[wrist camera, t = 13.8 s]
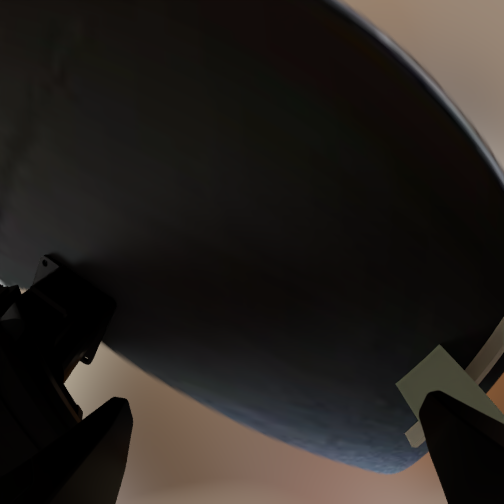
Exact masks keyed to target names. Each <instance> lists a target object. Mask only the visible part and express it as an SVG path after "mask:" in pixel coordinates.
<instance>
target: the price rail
mask: <svg viewBox="0 0 504 504" xmlns="http://www.w3.org/2000/svg"><path fill="white" fill-rule="evenodd" d="M503 352H504V317H503V319H502V320H501V322H500V323H499V325H498V326H497V328H496V329H495V331H494V332H493V333H492V335H491V336H490V338H489V339H488V340H487V342H486V343H485V345H484V346H483V347H482V349H481V350H480V351H479V353H478V354H477V355H476V357H475V358H474V359H473V360H472V362H471V363H470V364H469V365H468V367H467V368H466V369H465V370H464V371H465V372H466V373H467V374H468V375H469V376H470V377H471V378H472V379H473V381H474V382H475V383H476V384H477V385H479V383H480V382H481V381H482V380H483V378H484V377H485V376H486V375H487V374H488V372H489V371H490V370H491V368H492V367H493V366H494V365H495V363H496V362H497V361H498V359H499V358H500V357H501V355H502V354H503ZM405 435H406V437H407V439H408V441H409V442H410V444H411V446H412V447H416V448H417V447H418V446H419V445H420V444H422V443H423V442H424V441H425V440H426V439H425V436H424V432H423V429H422V426H421V424H420V422H419V421H417V422H416V423H415V424H414V425H413V426H412V427H411V428H410V429H409V430H408V431H407V432H406V433H405Z"/></svg>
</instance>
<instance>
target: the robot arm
mask: <svg viewBox="0 0 504 504" xmlns="http://www.w3.org/2000/svg"><path fill="white" fill-rule="evenodd" d="M45 260H46V261H47V263H48V265H47V264H46V263H45ZM106 303H109V304H110V305H111V307H108V306H107V304H106ZM115 309H116V302H115V300H114V299H112V298H111V297H109V296H108V295H106V294H105V293H103V292H102V291H100V290H98V289H97V288H95V287H94V286H93V285H92V284H91V283H90V282H88V281H87V280H85V279H84V278H82V277H81V276H79V275H78V274H77V273H75V272H74V271H72V270H71V269H69V268H68V267H67V266H65V265H62V264H61V263H59V262H58V261H56V260H55V259H54V258H52V257H51V256H49V255H44V256H42V257H41V258H40V261H39V264H38V267H37V271H36V274H35V278H34V281H33V285H32V286H31V287H30V289H28V290H27V291H25V292H24V293H23V294H21V291H20V289H19V286H18V285H15V286H11V287H8V286H7V287H3V285H1V284H0V504H115V503H116V500H117V496H118V492H119V489H120V486H121V482H122V479H123V475H124V472H125V467H126V462H127V456H128V450H129V444H130V438H131V432H132V427H133V417H132V414H131V410H130V406H129V402H128V400H127V399H125V398H119V397H113V398H111V399H110V400H108V401H107V402H106V403H104V404H103V405H102V406H100V407H99V408H98V409H96V410H95V411H94V412H92V413H91V414H90V415H88V416H87V417H86V418H85V419H83V420H82V416H83V411H82V410H81V408H80V407H79V405H77V404H76V403H75V402H74V400H73V398H72V397H71V395H70V394H69V392H68V390H67V389H66V387H65V385H64V383H65V381H66V380H67V378H68V377H69V375H70V374H71V372H72V370H73V369H74V368H75V366H76V365H77V364H78V362H79V361H81V362H83V363H84V364H87V365H89V364H90V363H91V362H92V360H93V359H94V356H95V354H96V351H97V349H98V347H99V344H100V342H101V340H102V337H103V335H104V333H105V331H106V328H107V326H108V324H109V322H110V320H111V317H112V315H113V313H114V311H115ZM85 357H87V358H88V359H87V358H85ZM419 419H420V422H421V425H422V429H423V432H424V436H425V439H426V443H427V447H428V450H429V453H430V456H431V459H432V461H433V464H434V466H435V469H436V472H437V474H438V477H439V480H440V482H441V485H442V488H443V491H444V493H445V496H446V499H447V502H448V504H504V424H503V423H501V422H499V421H497V420H496V419H494V418H492V417H490V416H488V415H486V414H484V413H482V412H480V411H478V410H476V409H474V408H472V407H470V406H469V405H467V404H465V403H463V402H461V401H459V400H457V399H455V398H453V397H452V396H450V395H448V394H446V393H444V392H442V391H440V390H436V391H431V392H429V393H428V394H427V395H426V397H425V399H424V401H423V403H422V406H421V408H420V410H419Z"/></svg>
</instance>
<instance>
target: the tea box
mask: <svg viewBox="0 0 504 504" xmlns="http://www.w3.org/2000/svg"><path fill="white" fill-rule="evenodd" d="M396 386H397V387H398V389H399V390H400V392H401V393H402V395H403V397H404V398H405V400H406V401H407V403H408V405H409V406H410V408H411V409H412V411H413V413H414V414H415V416H416V417H417V419H418V421H419V422H420V419H419V410H420V408H421V406H422V403H423V401H424V399H425V397H426V395H427V394H428V393H429V392H431V391H436V390H440V391H442V392H444V393H446V394H448V395H450V396H452V397H453V398H455V399H457V400H459V401H461V402H463V403H465V404H467V405H469V406H470V407H472V408H474V409H476V410H478V411H480V412H482V413H484V414H486V415H488V416H490V417H492V418H494V419H496V420H497V421H499V422H501V423H503V424H504V415H503V414H502V412H501V411H500V410H499V409H498V408H497V407H496V405H495V404H494V403H493V402H492V401H491V400H490V398H489V397H488V396H487V395H486V394H485V393H484V392H483V391H482V389H481V388H480V387H479V386H478V385H477V384H476V383H475V382H474V381H473V379H472V378H471V377H470V376H469V375H468V374H467V373H466V372H465V371H464V370H463V369H462V368H461V366H460V365H459V364H458V363H457V362H456V361H455V360H454V359H453V358H452V357H451V356H450V355H449V354H448V353H447V352H446V351H445V350H444V349H443V347H442V346H441V345H440V344H439V345H438V346H437V347H436V348H435V349H434V350H433V351H432V352H431V353H430V354H429V355H428V356H427V357H426V358H424V359H423V360H422V361H421V362H420V363H419V364H418V365H417V366H416V367H415V368H413V369H412V370H411V371H410V372H409V373H408V374H407V375H405V376H404V377H403V378H402V379H401V380H400V381H398V382H397V383H396ZM420 424H421V422H420ZM421 426H422V425H421Z"/></svg>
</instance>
